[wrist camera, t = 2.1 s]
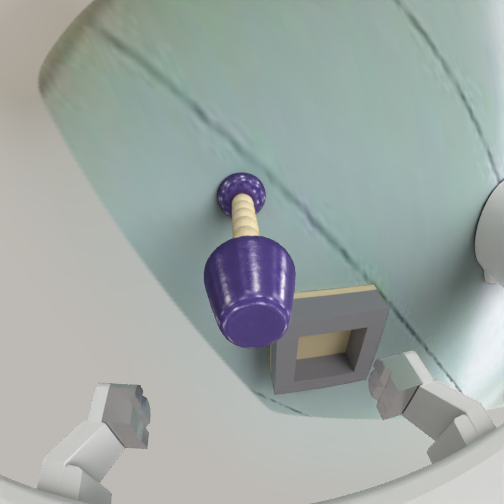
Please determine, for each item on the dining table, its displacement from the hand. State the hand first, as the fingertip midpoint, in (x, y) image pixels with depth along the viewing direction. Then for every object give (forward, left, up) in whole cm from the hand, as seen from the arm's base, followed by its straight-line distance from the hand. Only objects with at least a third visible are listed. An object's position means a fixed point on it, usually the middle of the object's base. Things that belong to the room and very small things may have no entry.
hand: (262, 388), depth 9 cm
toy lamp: (0, 0, -20) cm, 20 cm away
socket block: (-9, +17, -20) cm, 28 cm away
